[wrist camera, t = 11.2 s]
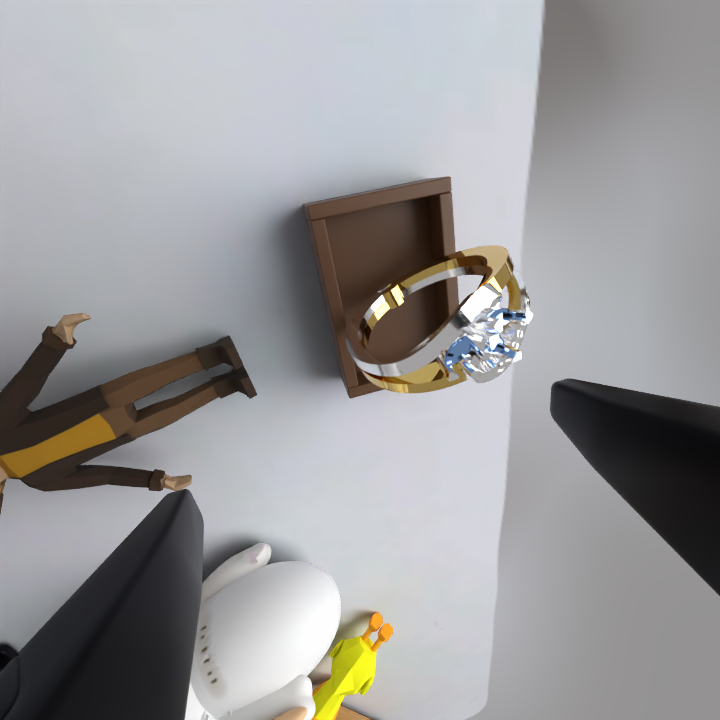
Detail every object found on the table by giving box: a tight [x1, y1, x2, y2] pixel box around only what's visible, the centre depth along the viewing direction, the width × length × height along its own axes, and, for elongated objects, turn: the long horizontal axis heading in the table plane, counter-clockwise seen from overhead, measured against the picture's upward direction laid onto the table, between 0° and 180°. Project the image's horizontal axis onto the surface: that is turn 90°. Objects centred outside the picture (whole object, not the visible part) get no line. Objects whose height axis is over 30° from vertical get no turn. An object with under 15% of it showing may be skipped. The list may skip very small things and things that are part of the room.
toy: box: [0, 313, 257, 513], centre depth 16 cm, size 10×7×15 cm
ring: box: [346, 246, 533, 393], centre depth 15 cm, size 7×3×8 cm, turn 119°
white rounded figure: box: [185, 543, 341, 720], centre depth 22 cm, size 10×8×15 cm
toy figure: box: [311, 613, 393, 720], centre depth 29 cm, size 7×4×12 cm
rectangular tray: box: [303, 177, 459, 398], centre depth 18 cm, size 9×6×2 cm
